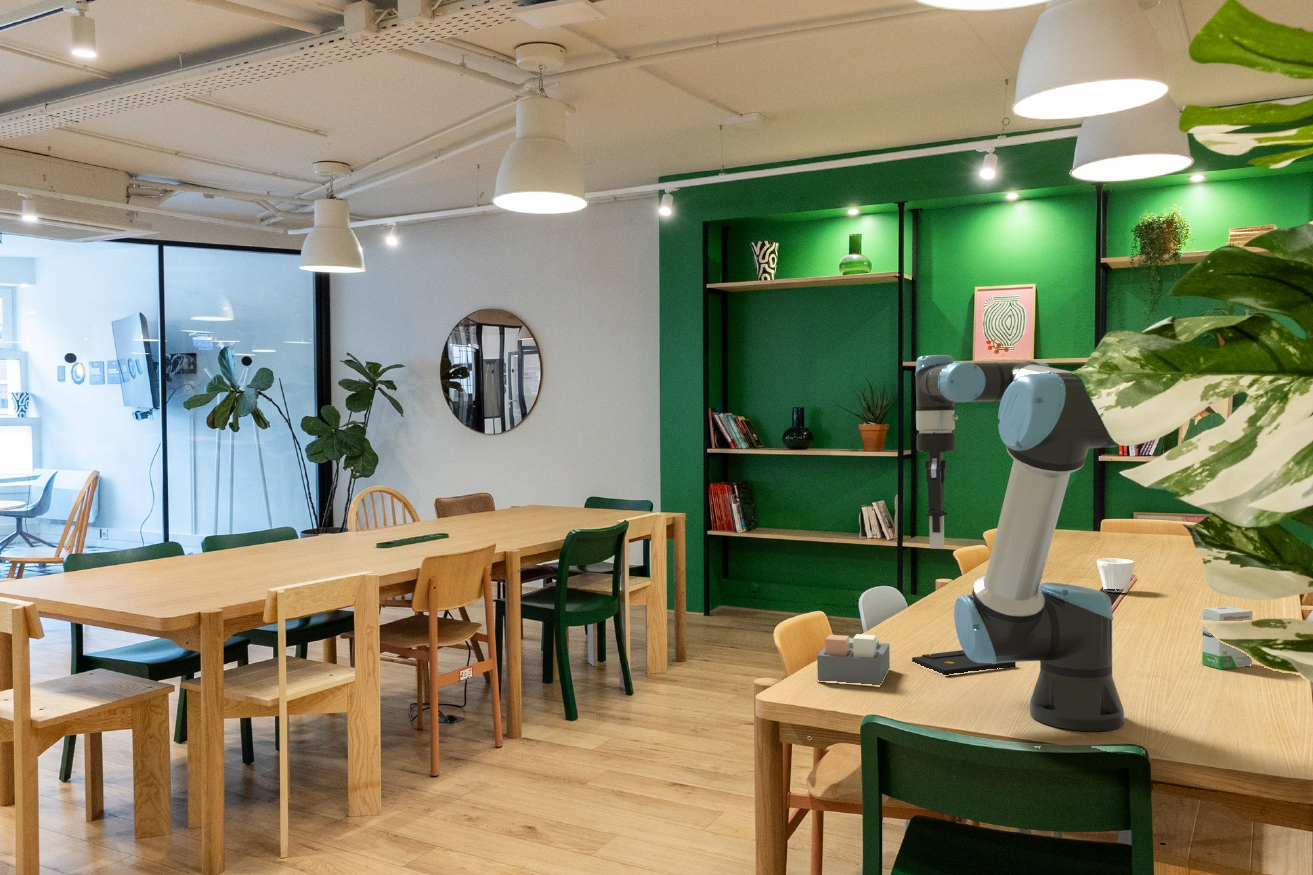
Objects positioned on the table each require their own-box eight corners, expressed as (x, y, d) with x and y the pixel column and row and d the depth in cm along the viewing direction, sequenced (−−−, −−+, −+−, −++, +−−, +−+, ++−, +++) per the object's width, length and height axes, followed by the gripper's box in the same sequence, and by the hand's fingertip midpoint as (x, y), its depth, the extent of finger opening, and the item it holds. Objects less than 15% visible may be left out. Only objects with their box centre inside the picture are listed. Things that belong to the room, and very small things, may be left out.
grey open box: (880, 687, 192) (879, 654, 192) (817, 682, 197) (817, 650, 197) (889, 669, 206) (889, 638, 205) (830, 665, 210) (830, 635, 210)
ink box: (1220, 670, 201) (1219, 612, 201) (1200, 664, 206) (1200, 608, 205) (1254, 666, 203) (1253, 609, 203) (1234, 660, 208) (1234, 605, 208)
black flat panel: (980, 657, 216) (980, 647, 216) (1016, 670, 206) (1016, 659, 206) (911, 666, 210) (911, 656, 210) (944, 679, 199) (944, 668, 199)
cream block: (873, 669, 194) (873, 639, 194) (853, 668, 196) (853, 638, 196) (876, 664, 198) (876, 635, 198) (856, 663, 199) (856, 633, 199)
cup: (1089, 590, 290) (1089, 559, 289) (1116, 588, 293) (1116, 557, 292) (1114, 596, 280) (1114, 564, 280) (1142, 593, 283) (1142, 562, 283)
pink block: (846, 669, 196) (845, 640, 196) (826, 668, 198) (825, 638, 198) (849, 665, 200) (849, 635, 200) (829, 663, 201) (829, 634, 201)
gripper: (952, 432, 190) (953, 553, 191) (957, 430, 203) (958, 544, 203) (913, 432, 193) (914, 551, 194) (920, 431, 205) (921, 543, 206)
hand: (936, 547), depth 199 cm, fingers closed
